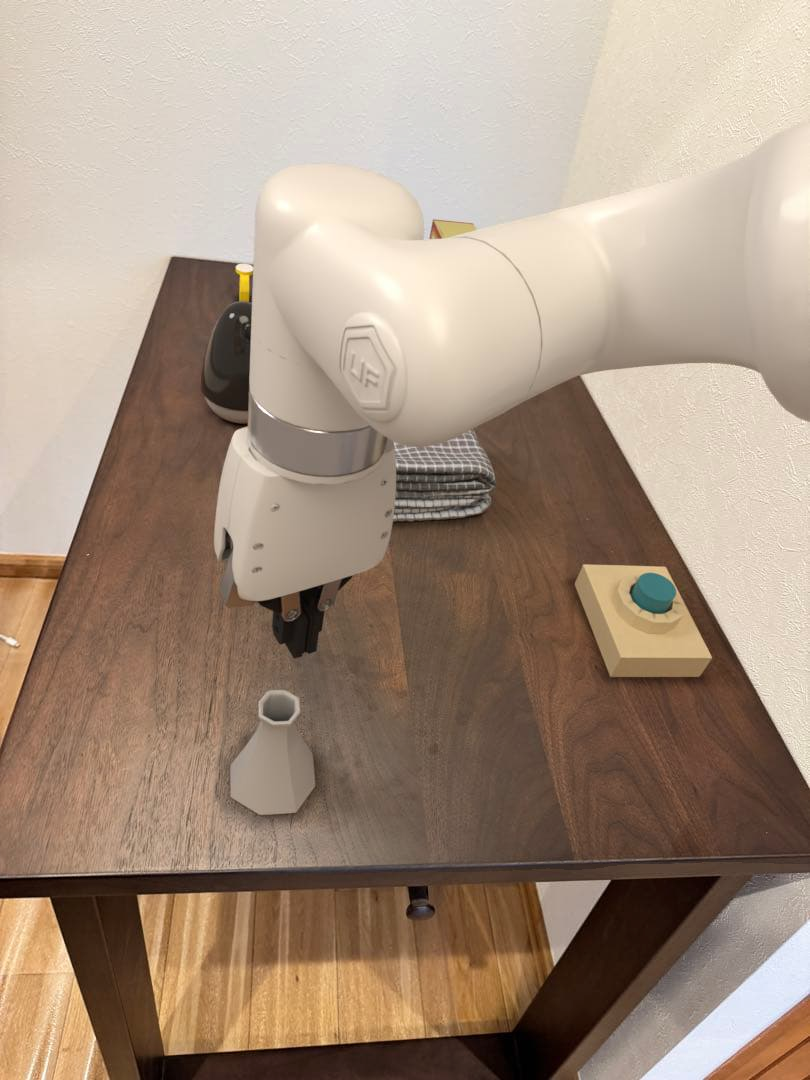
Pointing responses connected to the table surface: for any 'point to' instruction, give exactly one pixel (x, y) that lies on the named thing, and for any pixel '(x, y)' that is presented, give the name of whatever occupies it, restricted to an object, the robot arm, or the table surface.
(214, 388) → the black egg shape
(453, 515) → the towel
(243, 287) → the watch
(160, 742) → the table surface
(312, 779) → the flask
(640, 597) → the teal disc
